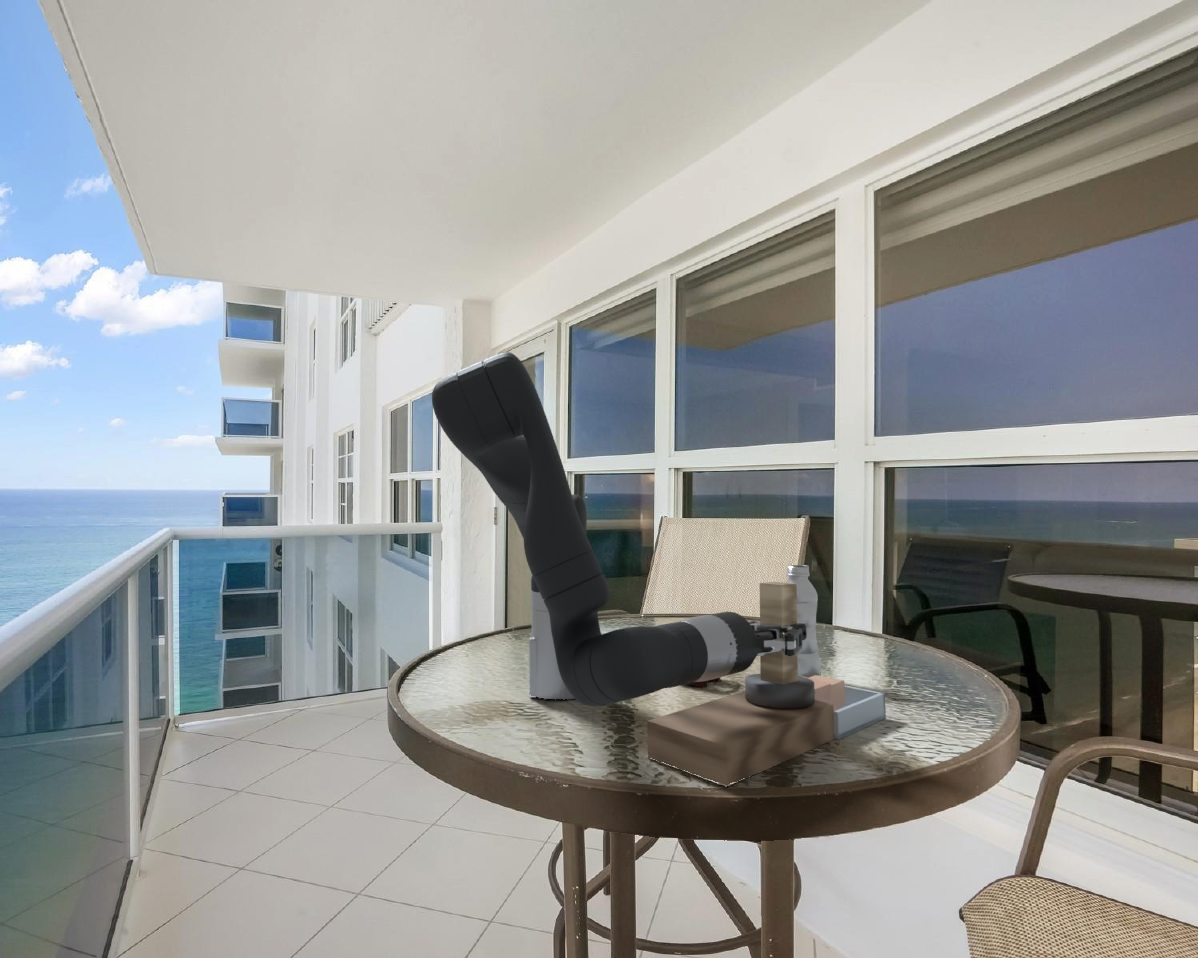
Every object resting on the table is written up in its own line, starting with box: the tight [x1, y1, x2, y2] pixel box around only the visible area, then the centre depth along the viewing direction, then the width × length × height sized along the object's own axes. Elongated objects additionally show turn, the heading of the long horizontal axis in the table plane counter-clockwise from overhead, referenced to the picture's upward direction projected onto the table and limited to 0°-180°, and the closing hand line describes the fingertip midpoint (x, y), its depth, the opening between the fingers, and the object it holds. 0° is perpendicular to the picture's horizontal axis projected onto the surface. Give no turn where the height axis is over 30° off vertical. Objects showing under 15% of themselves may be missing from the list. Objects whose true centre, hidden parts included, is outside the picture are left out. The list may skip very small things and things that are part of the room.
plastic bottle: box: [785, 564, 822, 678], centre depth 119 cm, size 6×7×20 cm
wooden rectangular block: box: [646, 690, 835, 785], centre depth 84 cm, size 22×12×4 cm, turn 131°
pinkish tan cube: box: [801, 676, 831, 703], centre depth 94 cm, size 4×4×4 cm
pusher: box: [744, 581, 815, 709], centre depth 90 cm, size 9×9×16 cm
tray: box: [834, 684, 887, 740], centre depth 96 cm, size 13×13×4 cm
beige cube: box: [809, 675, 845, 712], centre depth 97 cm, size 4×4×4 cm
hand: (790, 629), depth 92 cm, fingers closed on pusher, 3 cm apart
